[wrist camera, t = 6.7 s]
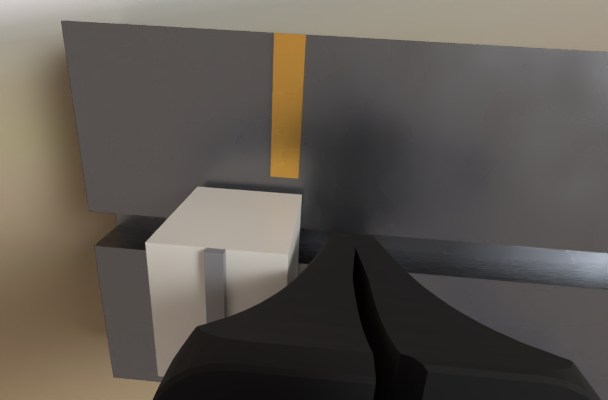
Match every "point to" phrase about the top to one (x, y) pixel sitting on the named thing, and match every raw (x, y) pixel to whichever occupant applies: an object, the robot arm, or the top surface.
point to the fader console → (359, 165)
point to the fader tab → (218, 260)
